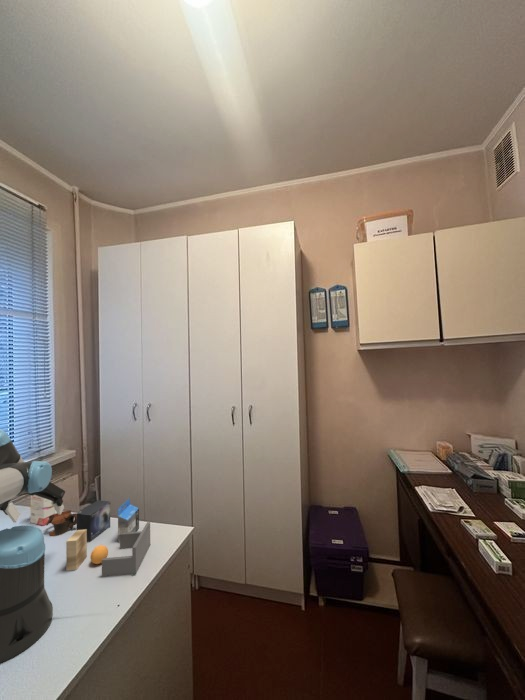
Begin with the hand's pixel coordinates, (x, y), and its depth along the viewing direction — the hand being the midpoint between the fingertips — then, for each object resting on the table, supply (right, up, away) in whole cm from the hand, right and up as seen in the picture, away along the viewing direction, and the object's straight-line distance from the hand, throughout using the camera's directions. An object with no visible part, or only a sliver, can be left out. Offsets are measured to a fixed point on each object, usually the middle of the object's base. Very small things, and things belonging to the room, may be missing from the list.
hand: (39, 514), depth 96 cm
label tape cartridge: (+25, -15, +10) cm, 31 cm away
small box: (+11, -15, +12) cm, 23 cm away
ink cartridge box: (-17, -17, +23) cm, 33 cm away
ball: (+22, -13, -4) cm, 26 cm away
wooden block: (+15, -13, -4) cm, 21 cm away
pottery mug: (-3, -16, +16) cm, 23 cm away
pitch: (+24, -14, -4) cm, 28 cm away
